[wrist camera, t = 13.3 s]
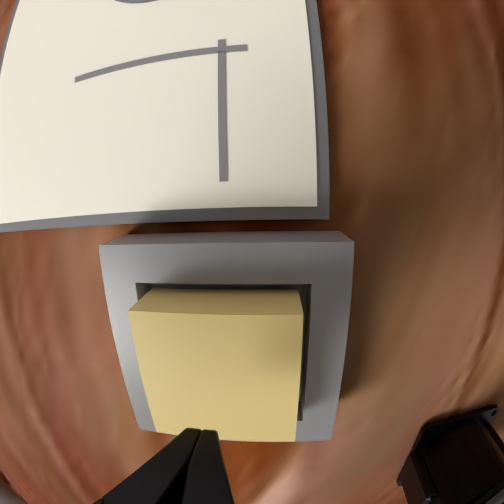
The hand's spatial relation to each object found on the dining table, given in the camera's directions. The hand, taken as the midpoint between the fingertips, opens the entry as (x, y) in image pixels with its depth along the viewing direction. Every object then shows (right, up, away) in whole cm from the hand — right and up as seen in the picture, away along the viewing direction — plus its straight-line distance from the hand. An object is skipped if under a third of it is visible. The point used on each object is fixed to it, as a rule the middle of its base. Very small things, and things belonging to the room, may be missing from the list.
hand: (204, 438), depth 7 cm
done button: (0, +1, +5) cm, 5 cm away
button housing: (0, +1, +6) cm, 6 cm away
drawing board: (-5, +15, +4) cm, 16 cm away
